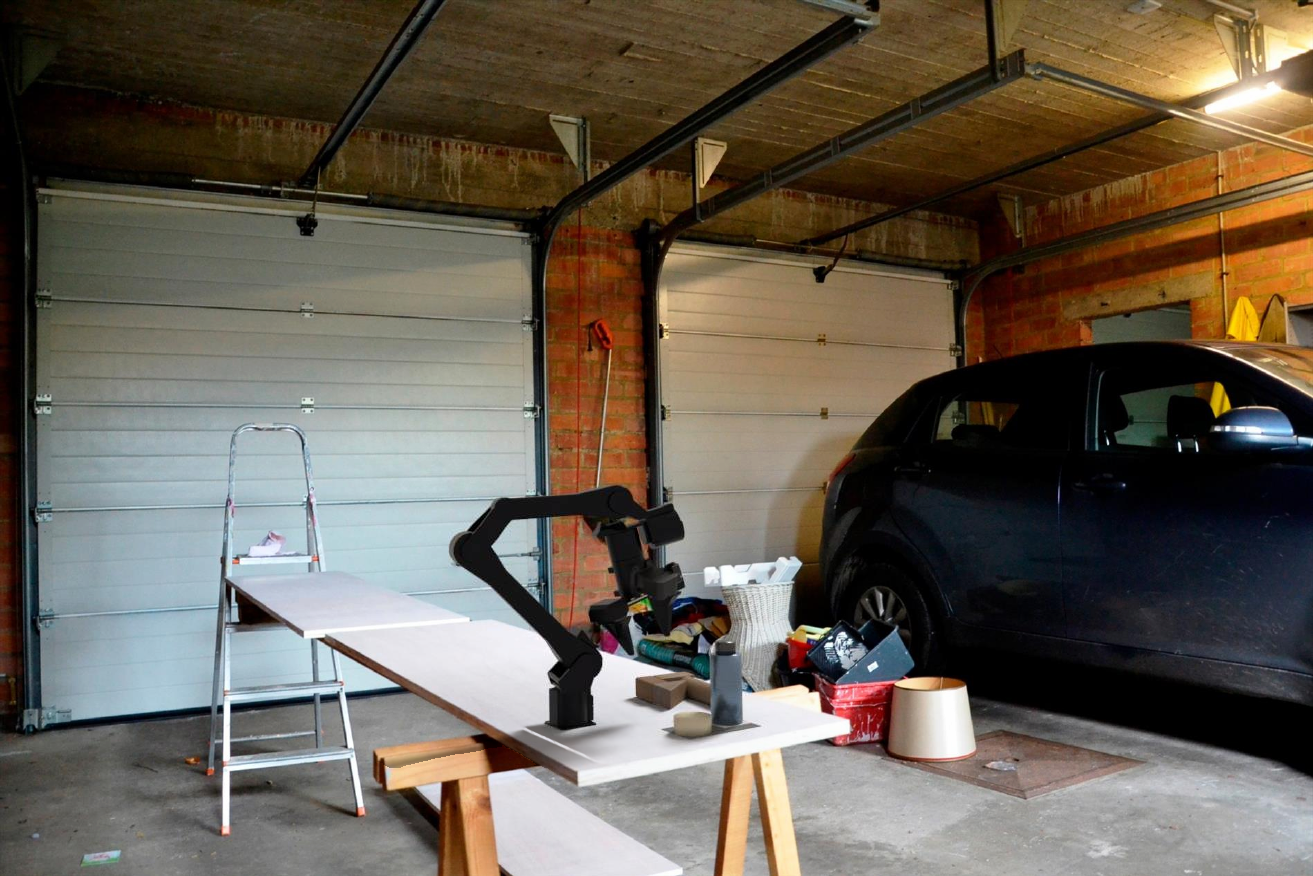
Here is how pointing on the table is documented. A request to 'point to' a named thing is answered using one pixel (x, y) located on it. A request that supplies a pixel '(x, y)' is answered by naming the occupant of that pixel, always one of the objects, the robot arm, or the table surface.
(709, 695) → the wooden block
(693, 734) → the beige round puck
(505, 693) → the table surface
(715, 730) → the mat
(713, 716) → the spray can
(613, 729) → the table surface
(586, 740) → the table surface
